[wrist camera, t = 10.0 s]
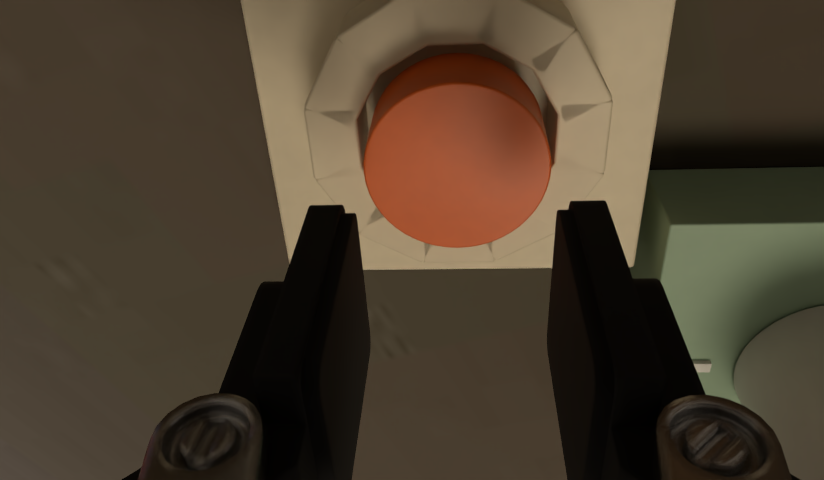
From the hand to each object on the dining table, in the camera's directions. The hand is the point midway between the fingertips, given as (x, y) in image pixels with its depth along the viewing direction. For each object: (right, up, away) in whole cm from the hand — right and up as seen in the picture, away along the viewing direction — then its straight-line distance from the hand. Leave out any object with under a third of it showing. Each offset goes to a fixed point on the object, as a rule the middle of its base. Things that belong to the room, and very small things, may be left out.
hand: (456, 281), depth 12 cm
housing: (0, +5, +8) cm, 9 cm away
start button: (0, +3, +5) cm, 6 cm away
